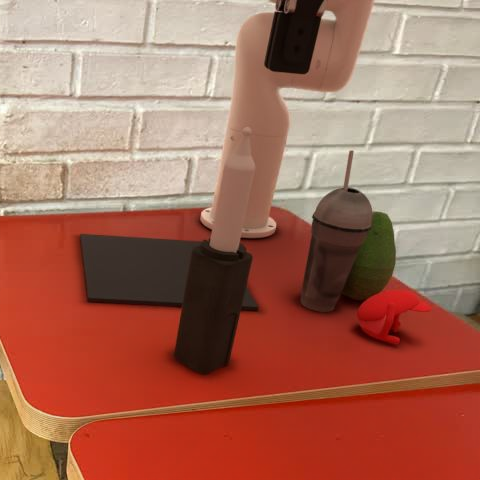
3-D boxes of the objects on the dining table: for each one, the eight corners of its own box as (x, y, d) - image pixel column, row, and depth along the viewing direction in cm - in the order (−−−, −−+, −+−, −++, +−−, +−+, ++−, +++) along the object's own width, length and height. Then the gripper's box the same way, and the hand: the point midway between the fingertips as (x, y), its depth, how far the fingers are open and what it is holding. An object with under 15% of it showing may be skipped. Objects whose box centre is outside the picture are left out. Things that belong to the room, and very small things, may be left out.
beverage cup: (347, 320, 89) (398, 164, 78) (290, 311, 90) (333, 155, 79) (342, 297, 95) (388, 149, 84) (288, 288, 96) (328, 140, 85)
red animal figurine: (360, 345, 84) (376, 300, 81) (345, 321, 89) (359, 278, 86) (425, 350, 84) (442, 305, 81) (406, 326, 89) (422, 284, 86)
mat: (80, 237, 105) (80, 233, 105) (221, 246, 108) (221, 242, 107) (87, 302, 87) (88, 297, 87) (257, 311, 89) (258, 306, 89)
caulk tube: (203, 376, 74) (252, 136, 61) (168, 356, 77) (208, 123, 64) (233, 363, 77) (286, 131, 64) (199, 344, 80) (243, 119, 67)
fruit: (335, 308, 92) (362, 221, 85) (313, 283, 98) (337, 200, 92) (391, 311, 93) (422, 225, 86) (367, 285, 100) (393, 204, 93)
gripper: (265, -222, 51) (218, 53, 61) (338, -273, 38) (264, 84, 48) (363, -208, 51) (301, 61, 61) (466, -254, 39) (367, 93, 49)
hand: (285, 70), depth 55 cm, fingers closed
